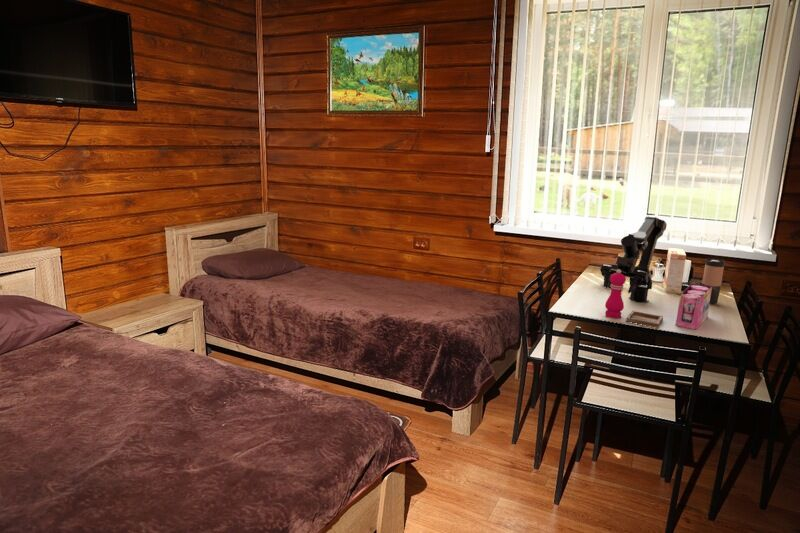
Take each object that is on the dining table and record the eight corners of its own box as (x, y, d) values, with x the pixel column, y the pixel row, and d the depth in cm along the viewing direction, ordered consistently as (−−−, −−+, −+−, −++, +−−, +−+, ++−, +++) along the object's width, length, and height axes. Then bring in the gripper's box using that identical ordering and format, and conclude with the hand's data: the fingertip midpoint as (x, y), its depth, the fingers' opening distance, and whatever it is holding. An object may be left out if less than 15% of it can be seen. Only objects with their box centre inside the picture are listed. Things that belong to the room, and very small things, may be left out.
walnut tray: (631, 314, 235) (632, 310, 235) (662, 320, 229) (663, 316, 229) (625, 322, 225) (626, 317, 225) (657, 328, 219) (658, 324, 219)
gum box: (695, 331, 217) (701, 298, 214) (673, 326, 222) (679, 293, 219) (707, 317, 236) (712, 286, 233) (687, 313, 241) (692, 282, 237)
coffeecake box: (662, 284, 286) (668, 247, 281) (678, 286, 283) (683, 249, 279) (664, 292, 272) (670, 253, 268) (680, 294, 270) (686, 254, 265)
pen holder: (598, 284, 283) (600, 265, 280) (612, 282, 287) (614, 264, 284) (612, 289, 275) (615, 269, 272) (626, 287, 278) (629, 268, 276)
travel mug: (717, 301, 259) (724, 259, 255) (718, 305, 253) (725, 262, 248) (698, 298, 263) (705, 257, 258) (699, 303, 256) (706, 260, 251)
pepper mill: (623, 319, 229) (630, 272, 224) (605, 317, 230) (611, 270, 225) (620, 314, 236) (626, 268, 231) (602, 312, 237) (608, 266, 232)
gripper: (604, 245, 237) (591, 275, 231) (650, 252, 226) (637, 284, 220) (608, 261, 245) (596, 290, 239) (653, 268, 233) (641, 299, 227)
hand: (617, 290), depth 231 cm, fingers open, 9 cm apart
